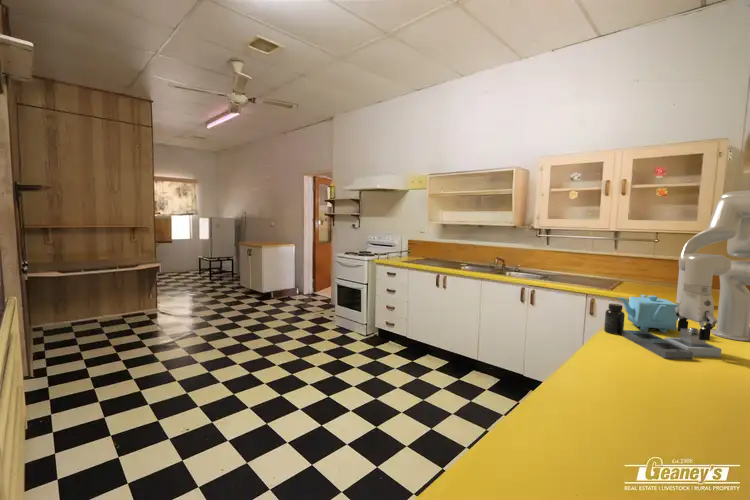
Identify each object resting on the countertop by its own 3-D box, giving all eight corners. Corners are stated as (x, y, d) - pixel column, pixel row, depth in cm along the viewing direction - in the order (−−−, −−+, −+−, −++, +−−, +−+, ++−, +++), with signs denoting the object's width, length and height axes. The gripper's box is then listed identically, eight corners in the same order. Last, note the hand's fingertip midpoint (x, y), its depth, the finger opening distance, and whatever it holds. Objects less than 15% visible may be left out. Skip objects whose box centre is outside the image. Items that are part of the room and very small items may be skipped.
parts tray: (695, 346, 135) (695, 338, 135) (720, 357, 124) (721, 349, 124) (664, 345, 136) (665, 337, 136) (687, 355, 125) (688, 347, 125)
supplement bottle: (626, 335, 147) (628, 307, 146) (608, 334, 148) (610, 306, 147) (618, 330, 154) (620, 303, 153) (601, 329, 155) (603, 302, 154)
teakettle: (685, 331, 153) (688, 298, 152) (662, 337, 145) (665, 302, 144) (637, 320, 170) (639, 290, 169) (614, 325, 162) (616, 293, 160)
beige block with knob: (693, 347, 132) (695, 326, 132) (704, 352, 127) (706, 330, 127) (679, 346, 133) (680, 326, 132) (689, 351, 128) (691, 330, 127)
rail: (622, 336, 146) (622, 330, 146) (644, 336, 145) (645, 330, 145) (664, 358, 122) (665, 351, 122) (692, 359, 122) (693, 352, 121)
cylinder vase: (671, 303, 206) (675, 261, 204) (682, 301, 211) (686, 260, 209) (699, 308, 195) (703, 263, 193) (709, 306, 200) (713, 262, 198)
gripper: (730, 294, 119) (725, 344, 121) (688, 285, 136) (684, 328, 138) (706, 294, 120) (701, 343, 121) (668, 284, 137) (664, 328, 138)
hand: (692, 335), depth 130 cm, fingers open, 9 cm apart
